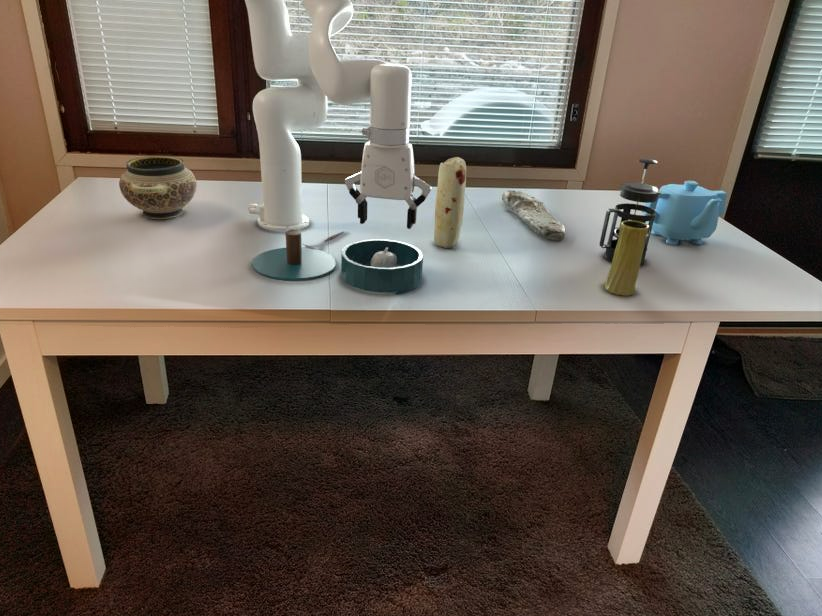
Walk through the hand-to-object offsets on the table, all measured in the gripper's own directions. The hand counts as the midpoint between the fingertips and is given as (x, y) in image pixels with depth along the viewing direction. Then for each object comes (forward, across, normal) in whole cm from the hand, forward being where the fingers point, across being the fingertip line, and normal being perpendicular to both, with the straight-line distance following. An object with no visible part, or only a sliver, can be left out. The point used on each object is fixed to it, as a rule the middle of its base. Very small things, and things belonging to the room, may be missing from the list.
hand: (386, 224), depth 131 cm
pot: (+11, 0, -2) cm, 11 cm away
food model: (+11, +10, +23) cm, 28 cm away
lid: (+10, -19, -2) cm, 22 cm away
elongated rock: (+11, +29, +50) cm, 59 cm away
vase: (+12, +49, +8) cm, 51 cm away
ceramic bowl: (+10, -62, +20) cm, 66 cm away
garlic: (+11, 0, 0) cm, 11 cm away
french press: (+12, +51, +27) cm, 59 cm away
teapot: (+12, +67, +47) cm, 83 cm away
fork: (+11, -17, +14) cm, 25 cm away
